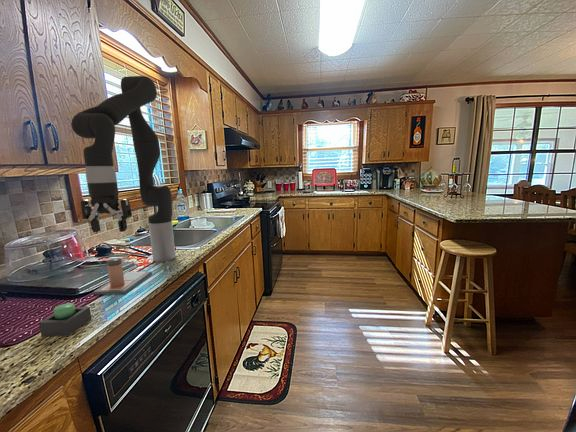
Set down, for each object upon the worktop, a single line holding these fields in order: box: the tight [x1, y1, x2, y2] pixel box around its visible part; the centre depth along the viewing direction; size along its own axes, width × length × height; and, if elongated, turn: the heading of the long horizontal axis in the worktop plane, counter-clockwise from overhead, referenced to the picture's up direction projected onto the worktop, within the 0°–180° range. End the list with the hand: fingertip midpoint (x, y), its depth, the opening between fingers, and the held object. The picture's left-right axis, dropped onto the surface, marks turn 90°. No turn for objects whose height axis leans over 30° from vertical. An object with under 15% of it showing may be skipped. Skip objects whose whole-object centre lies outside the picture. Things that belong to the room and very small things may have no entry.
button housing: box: [38, 306, 92, 337], centre depth 63 cm, size 7×7×4 cm
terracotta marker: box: [106, 257, 125, 288], centre depth 83 cm, size 4×4×9 cm
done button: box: [52, 302, 76, 319], centre depth 62 cm, size 4×4×2 cm
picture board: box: [93, 270, 153, 295], centre depth 87 cm, size 16×10×1 cm, turn 0°
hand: (109, 231), depth 80 cm, fingers open, 8 cm apart
